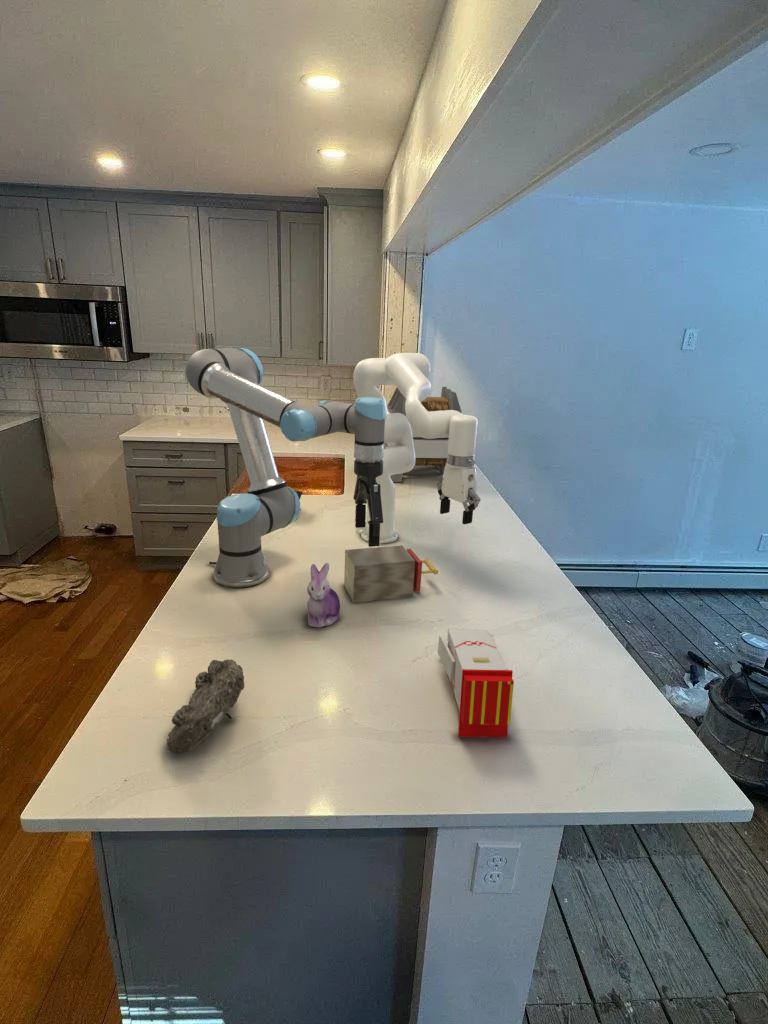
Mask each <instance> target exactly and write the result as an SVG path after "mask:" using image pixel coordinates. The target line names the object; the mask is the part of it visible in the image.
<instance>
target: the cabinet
mask: <svg viewBox="0 0 768 1024" xmlns="http://www.w3.org/2000/svg"><path fill="white" fill-rule="evenodd" d="M414 568H415V560H414V559H413V558H412V556H411V555H410V554H409V553H408V552H407V548H405V546H404V545H402V544H401V545H390V546H374V547H364V548H352V549H344V570H343V571H344V574H343V575H344V576H343V577H344V579H343V585H344V587H345V590H346V591H347V594H348V595H349V597H350V599H351V601H352V603H353V604H357V603H365V602H376V601H385V600H393V599H401V598H402V599H403V598H411V597H413V596H414V588H413V583H414Z"/></svg>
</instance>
